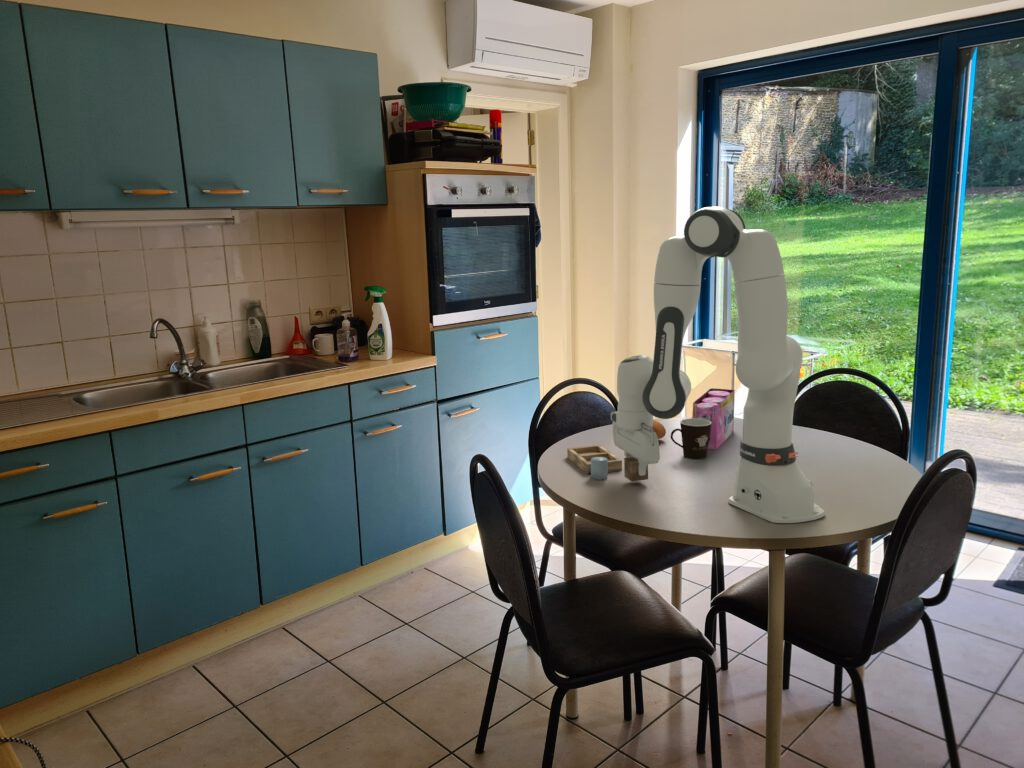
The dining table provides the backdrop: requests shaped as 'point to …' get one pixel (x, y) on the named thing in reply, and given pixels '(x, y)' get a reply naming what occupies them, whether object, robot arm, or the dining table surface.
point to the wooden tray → (584, 455)
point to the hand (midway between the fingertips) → (636, 471)
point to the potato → (659, 429)
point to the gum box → (716, 414)
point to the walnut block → (633, 469)
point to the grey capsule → (599, 468)
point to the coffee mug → (694, 437)
